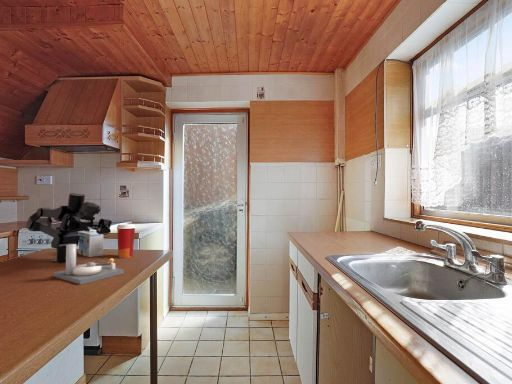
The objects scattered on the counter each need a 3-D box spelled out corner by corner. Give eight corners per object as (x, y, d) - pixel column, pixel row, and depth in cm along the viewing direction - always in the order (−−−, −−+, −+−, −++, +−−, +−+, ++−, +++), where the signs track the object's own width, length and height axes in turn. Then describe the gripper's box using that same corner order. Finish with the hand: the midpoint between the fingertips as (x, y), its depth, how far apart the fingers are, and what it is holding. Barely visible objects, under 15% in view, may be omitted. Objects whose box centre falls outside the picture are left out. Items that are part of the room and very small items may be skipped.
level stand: (54, 276, 104) (54, 261, 104) (97, 267, 118) (97, 254, 118) (80, 284, 97) (80, 268, 97) (123, 273, 111) (123, 259, 111)
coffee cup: (128, 254, 143) (129, 223, 143) (138, 256, 138) (139, 224, 138) (111, 256, 137) (112, 224, 136) (121, 259, 132) (122, 225, 132)
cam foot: (110, 267, 112) (111, 240, 112) (110, 273, 104) (111, 244, 104) (67, 270, 106) (68, 242, 106) (63, 277, 98) (64, 247, 98)
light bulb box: (78, 254, 141) (78, 231, 141) (92, 251, 146) (93, 230, 146) (89, 257, 135) (89, 233, 135) (103, 255, 140) (104, 232, 140)
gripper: (60, 196, 114) (82, 206, 106) (104, 205, 130) (126, 213, 122) (51, 224, 113) (72, 236, 105) (96, 229, 129) (118, 239, 121)
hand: (99, 230), depth 113 cm, fingers open, 9 cm apart
